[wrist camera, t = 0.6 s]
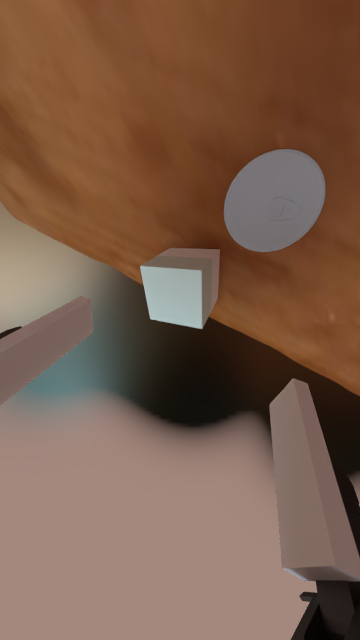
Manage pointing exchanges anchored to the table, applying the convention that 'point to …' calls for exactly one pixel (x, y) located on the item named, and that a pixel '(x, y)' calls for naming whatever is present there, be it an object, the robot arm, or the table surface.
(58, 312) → the robot arm
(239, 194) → the canned food
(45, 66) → the table surface
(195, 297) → the tower top
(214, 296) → the tower base
